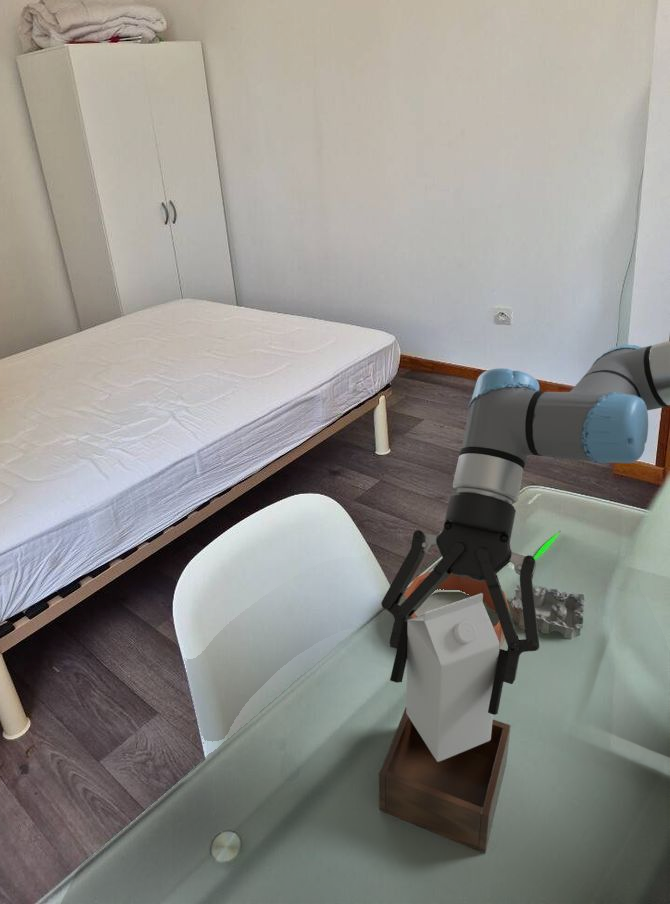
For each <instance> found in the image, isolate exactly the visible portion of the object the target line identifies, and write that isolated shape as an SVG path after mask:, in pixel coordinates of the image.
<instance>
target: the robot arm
mask: <svg viewBox="0 0 670 904" xmlns="http://www.w3.org/2000/svg"><path fill="white" fill-rule="evenodd" d="M667 407H670V340H667V341H664V342H660V343H656V344H652V345H648V346H644V347H643V346H639V345H635V344H621V345H617V346H615V347H613V348H611V349H609V350H608V351H606V352H605V353H603V354H602V355H601V356H599V357H597V358H596V360H595V361H594V362H593V363H592V365H591V367H589V369H588V370H587V372H586V373H585V374H584V375H583V376H582V378H581V379H580V380H579V381H578V382H577V384H575V385H574V387H572V389H570V391H546V390H540V384H539V381H538V380H537V379H536V378H535V377H534V376H532V375H531V374H528V373H527V372H524V371H520V370H511V369H509V368H492V369H488V370H486V371H483V372H482V373H480V375H479V376H478V377H477V379H476V382H475V386H474V389H473V392H472V396H471V399H470V401H469V404H468V413H467V419H466V425H465V428H464V434H463V438H462V443H461V449H460V453H459V455H458V459H457V462H456V463H457V464H456V468H455V473H454V477H453V481H452V489H453V490H454V492H453V493H452V494H451V495H450V496H449V500H448V505H447V509H446V515H445V518H444V523H443V527H442V529H441V530H440V532H439V533H438V534H432V533H426V532H424V531H422V530H420V529H416V530H414V532H413V533H412V541H411V546H410V549H409V551H408V553H407V555H406V556H405V558H404V560H403V562H402V564H401V566H400V567H399V569H398V572H397V573H396V575H395V576H394V578H393V580H392V583H391V584H390V586H389V588H388V590H387V591H386V592H385V595H384V597H383V599H382V600H381V607H382V608H383V609H385V610H386V611H387V612H389V613H390V614H392V616H393V619H394V620H393V625H392V629H391V633H390V638H389V647H390V648H393V649H396V652H395V657H394V661H393V665H392V670H391V675H390V679H389V681H390V682H393V683H397V684H398V683H402V682H403V679H404V674H405V670H406V667H407V628H408V621H407V620H410V619H409V618H410V617H411V616H412V615H413V614H414V613H415V614H416V612H417V610H418V609H420V607H421V606H422V605H423V604H424V603H425V602H426V601H427V600H428V598H430V597H431V596H432V595H431V594H432V593H433V592H434V591H435V590H436V589H437V587H438V586H439V585H440V584H441V583H442V582H443V581H444V580H445V579H447V578H448V577H449V576H450V575H451V573H453V574H454V575H455V576H459V577H470V578H472V579H474V580H475V581H479V582H482V581H486V584H487V587H488V589H489V592H490V595H491V598H492V601H493V604H494V607H495V610H496V613H495V614H496V616H497V619H498V622H499V621H500V624H501V627H502V630H503V633H504V636H505V642H506V645H507V648H506V650H505V649H502V648H500V650H499V656H498V661H497V666H496V672H495V677H494V682H493V688H492V693H491V698H490V704H489V709H488V713H490V714H493V716H496V715H498V713H499V708H500V703H501V699H502V698H501V697H502V692H503V686H504V683H507V684H510V685H513V684H514V682H515V681H516V676H517V672H518V668H519V667H518V666H519V660H520V656H521V654H523V653H527V652H537V651H538V650H539V649H540V637H539V636H540V635H539V628H538V627H537V618H536V610H535V601H534V592H533V584H534V583H533V580H534V579H533V578H534V575H535V571H536V566H537V562H536V560H535V559H534V556H533V555H531V554H530V555H522V554H519V553H516V552H513V551H512V549H511V539H512V534H513V529H514V523H515V518H516V513H517V512H516V511H517V509H516V508H515V507H514V505H513V504H516V503H518V502H519V498H520V493H521V485H522V481H523V476H524V470H525V466H526V460H527V457H528V456H539V457H549V458H557V459H565V460H566V459H567V460H575V461H582V462H583V461H584V462H592V463H596V464H610V463H611V464H633V463H635V462H637V461H638V460H640V458H641V457H642V456H643V454H644V451H645V448H646V443H647V441H648V434H649V414H648V411H651V410H657V409H663V408H667ZM434 546H437V548H438V550H439V552H440V555H441V557H442V558H441V559H440V560H439V561H438V562H437V564H436V565H435V566H434V567H433V569H432V570H431V571H432V572H431V573H430V574H429V575H428V576H427V577H426V578H425V579H424V580H423V582H422V583H421V584H420V585H419V586H418V587H417V588H416V589H415V590H414V591H413V592H412V594H411V595H410V596H409V597H408V598H407V599H406V600H405V599H404V601H403V602H402V603H401V604H399V603H400V601H401V599H402V598H403V596H404V595H405V592H406V590H407V589H408V588H409V586H410V583H411V581H412V579H413V577H414V576H415V574H416V572H417V570H418V569H419V567H420V565H421V563H422V561H423V560H424V557H425V554H426V553H429V552H431V550H432V548H433V547H434ZM509 563H512V565H513V569H514V572H515V573H516V574H517V575H519V585H520V588H521V597H522V607H523V616H524V625H525V629H524V634H525V639H520V638H519V636H518V632H517V630H516V627H515V624H514V622H513V621H512V614H511V611H510V612H509V609H510V608H509V609H508V606H509V605H508V606H507V603H508V602H507V603H506V601H505V598H504V595H503V592H502V590H503V589H502V586H501V582H500V580H499V576H498V573H499V572H500V571H501V570H502V569H504V568H505V567H506V566H508V564H509ZM430 595H431V596H430Z"/></svg>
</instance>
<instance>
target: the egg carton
mask: <svg viewBox="0 0 670 904" xmlns="http://www.w3.org/2000/svg"><path fill="white" fill-rule="evenodd" d="M533 592H534V601H535V610H536V618H537V627H538V630H539V631H540V632H541V633H543V634H550V633H551V632H559V633H560V634H562V635H563V638H565V639H568V640H572V639H573V638H574V637H577V636H580V635H581V631H582V629H583V626H584V615H585V611H584V610H585V594H583V593H567V592H566V591H562V592H561V590H560V589H558V588H549V587H546V586H545V587H543V586H539V585H537V584H535V583H533ZM510 606H512V607H511V609H512V613H511V618H512V621H513V623H516V625H517V627H518V628H520V629H523V630H525V625H524V616H523V607H522V597H521V588H520V584H518V585H516V586H515V590H514V593H513V598H512V601H511V604H510Z"/></svg>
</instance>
